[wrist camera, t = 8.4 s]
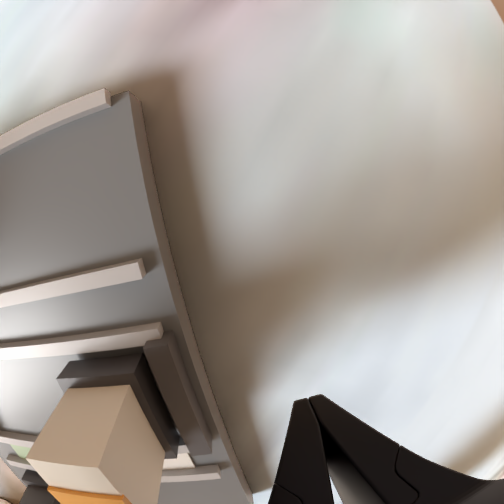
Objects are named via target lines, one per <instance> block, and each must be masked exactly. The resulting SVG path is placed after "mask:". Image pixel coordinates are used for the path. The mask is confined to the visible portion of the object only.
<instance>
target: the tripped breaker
mask: <svg viewBox="0 0 504 504" xmlns="http://www.w3.org/2000/svg"><path fill="white" fill-rule="evenodd" d="M56 380H57V382H58V384H59V386H60V387H61V389H62V391H63V393H64V395H63V397H62V398H61V400H60V401H59V403H58V405H57V406H56V408H55V409H54V411H53V413H52V414H51V416H50V417H49V419H48V421H47V422H46V424H45V426H44V427H43V429H42V431H41V432H40V434H39V436H38V437H37V439H36V441H35V442H34V444H33V446H32V447H31V449H30V451H29V453H28V454H27V456H26V459H27V461H28V462H29V463H30V464H31V466H32V467H33V468H34V469H35V470H36V471H37V473H38V474H39V475H40V476H41V477H42V478H43V479H44V481H45V482H46V483H47V484H48V485H49V486H48V488H47V490H48V491H49V492H50V493H51V494H52V495H53V496H54V497H55V498H56V499H57V500H58V501H59V502H60V503H61V504H157V503H158V496H159V490H160V483H161V476H162V470H163V464H164V459H176V458H177V455H178V447H179V439H180V436H179V434H178V432H177V430H176V428H175V426H174V424H173V422H172V420H171V418H170V415H169V413H168V411H167V409H166V407H165V405H164V402H163V400H162V398H161V396H160V394H159V391H158V389H157V387H156V384H155V382H154V380H153V377H152V375H151V373H150V370H149V368H148V365H147V363H146V360H145V358H144V355H143V353H137V354H129V355H121V356H113V357H104V358H95V359H85V360H74V361H69V362H68V364H67V365H66V366H65V368H64V369H63V370H62V372H61V373H60V374H59V376H58V377H57V378H56Z"/></svg>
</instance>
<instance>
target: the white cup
mask: <svg viewBox="0 0 504 504" xmlns="http://www.w3.org/2000/svg"><path fill="white" fill-rule="evenodd" d="M0 504H11V503H9V502H8V501H6V500H4V499H1V498H0Z"/></svg>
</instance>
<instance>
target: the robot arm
mask: <svg viewBox="0 0 504 504" xmlns="http://www.w3.org/2000/svg"><path fill="white" fill-rule="evenodd" d="M399 446H400V445H399V444H398V443H396V442H395V441H393V440H391V439H390V438H388V437H386V436H385V435H383V434H382V433H380V432H378V431H377V430H375V429H374V428H372V427H371V426H369V425H367V424H366V423H364V422H363V421H361V420H360V419H358V418H357V417H355V416H353V415H352V414H350V413H349V412H347V411H346V410H344V409H343V408H341V407H340V406H338V405H337V404H335V403H334V402H333V401H331V400H330V399H328V398H327V397H325V396H324V395H322V394H319V395H315V396H311V397H309V399H307V398H304V399H300V400H296V401H294V403H293V408H292V412H291V417H290V421H289V426H288V430H287V434H286V438H285V443H284V447H283V451H282V455H281V459H280V463H279V467H278V471H277V474H276V478H275V482H274V483H275V484H274V485H273V489H272V492H271V496H270V499H269V502H268V504H334V500H333V494H332V488H331V482H330V477H331V479H332V481H333V484H334V486H335V488H336V490H337V492H338V494H339V496H340V498H341V500H342V502H343V504H504V479H500V480H483V479H478V478H474V477H471V476H468V475H465V474H462V473H460V472H457V471H454V470H451V469H449V468H446V467H443V466H441V465H438V464H436V463H434V462H431V461H429V460H427V459H425V458H423V457H421V456H419V455H417V454H415V453H413V452H412V451H410V450H408V449H406V448H405V447H403V446H400V447H399ZM329 475H330V477H329Z"/></svg>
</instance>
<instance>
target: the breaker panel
mask: <svg viewBox="0 0 504 504" xmlns="http://www.w3.org/2000/svg"><path fill="white" fill-rule="evenodd" d="M137 353H143V355H144V358H145V360H146V363H147V365H148V368H149V370H150V373H151V375H152V377H153V380H154V382H155V384H156V387H157V389H158V391H159V394H160V396H161V398H162V400H163V402H164V405H165V407H166V409H167V411H168V413H169V415H170V418H171V420H172V422H173V424H174V426H175V428H176V430H177V432H178V434H179V436H180V439H179V447H178V455H177V458H176V459H164V464H163V470H162V476H161V483H160V490H159V496H158V503H157V504H254V503H253V495H252V492H251V490H250V488H249V486H248V483H247V481H246V478H245V476H244V474H243V471H242V469H241V466H240V464H239V461H238V459H237V456H236V454H235V451H234V449H233V446H232V444H231V441H230V439H229V436H228V433H227V431H226V428H225V425H224V423H223V420H222V417H221V414H220V412H219V409H218V406H217V403H216V400H215V398H214V395H213V392H212V389H211V386H210V383H209V380H208V377H207V374H206V371H205V368H204V365H203V362H202V359H201V356H200V353H199V349H198V346H197V343H196V340H195V336H194V333H193V330H192V327H191V323H190V320H189V316H188V313H187V309H186V306H185V302H184V299H183V295H182V292H181V288H180V284H179V281H178V277H177V273H176V269H175V265H174V262H173V258H172V254H171V250H170V246H169V241H168V237H167V233H166V229H165V225H164V220H163V216H162V211H161V207H160V202H159V198H158V193H157V188H156V183H155V179H154V174H153V168H152V163H151V158H150V153H149V147H148V142H147V136H146V130H145V124H144V118H143V112H142V105H141V102H140V101H139V100H138V99H137V98H136V97H135V96H134V95H133V94H132V93H131V92H130V91H126V92H123V93H120V94H116V95H114V96H111V97H110V92H109V91H108V90H106V89H105V88H103V89H100V90H97V91H95V92H92V93H89V94H87V95H84V96H82V97H79V98H77V99H74V100H72V101H69V102H67V103H65V104H62V105H60V106H58V107H55V108H53V109H51V110H49V111H47V112H45V113H42V114H40V115H38V116H36V117H34V118H32V119H30V120H28V121H26V122H24V123H22V124H20V125H19V126H17V127H15V128H13V129H11V130H9V131H7V132H6V133H4V134H2V135H0V457H1V458H2V460H3V461H4V462H5V463H6V464H7V466H8V467H9V468H10V469H11V470H12V471H13V473H14V474H15V475H16V476H17V477H18V478H19V479H20V481H21V482H22V483H23V484H24V485H25V486H26V487H27V488H26V490H25V492H24V494H23V497H22V499H21V501H20V503H19V504H61V503H60V502H59V501H58V500H57V499H56V498H55V497H54V496H53V495H52V494H51V493H50V492H49V491H48V490H47V488H48V486H49V485H48V484H47V483H46V482H45V481H44V479H43V478H42V477H41V476H40V475H39V474H38V473H37V471H36V470H35V469H34V468H33V467H32V466H31V464H30V463H29V462H28V461H27V459H26V456H27V454H28V453H29V451H30V449H31V447H32V446H33V444H34V442H35V441H36V439H37V437H38V436H39V434H40V432H41V431H42V429H43V427H44V426H45V424H46V422H47V421H48V419H49V417H50V416H51V414H52V413H53V411H54V409H55V408H56V406H57V405H58V403H59V401H60V400H61V398H62V397H63V395H64V393H63V391H62V389H61V387H60V386H59V384H58V382H57V380H56V378H57V377H58V376H59V374H60V373H61V372H62V370H63V369H64V368H65V366H66V365H67V364H68V362H69V361H74V360H85V359H95V358H104V357H113V356H121V355H129V354H137Z"/></svg>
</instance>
